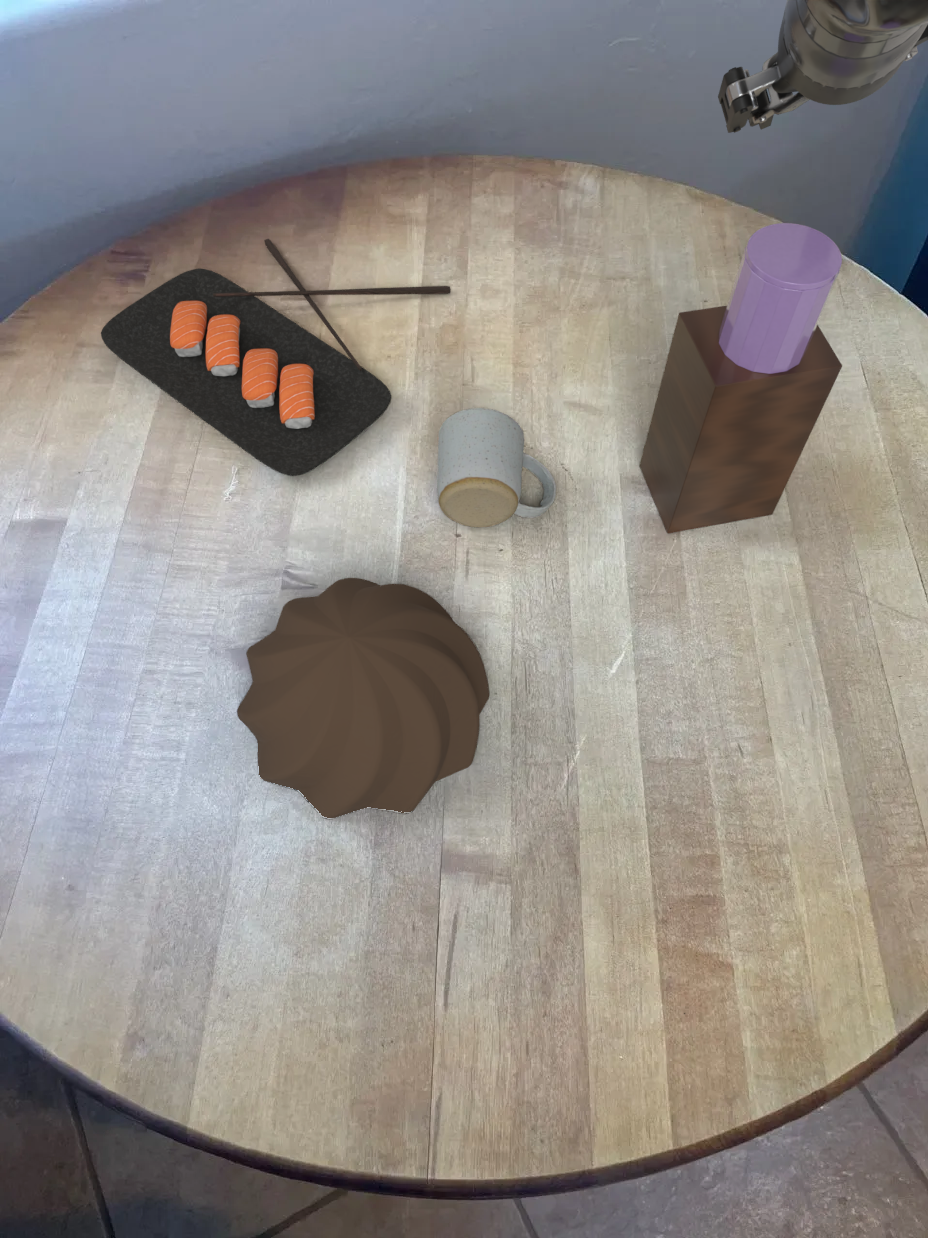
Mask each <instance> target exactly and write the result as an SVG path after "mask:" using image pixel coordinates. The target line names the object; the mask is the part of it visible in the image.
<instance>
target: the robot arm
mask: <svg viewBox="0 0 928 1238" xmlns="http://www.w3.org/2000/svg"><path fill="white" fill-rule="evenodd" d="M777 40H778V42H777V52H775V53H774V54H773V55H771V57H769V58H767V59H766V60H765V61H764V62H763V64H762V68H761V71H759V72H756V73H754V74H752V75H751V74H750V71H749V69H744V68H743V66H738V67H736V66H735V67H732V68H730V69H728V70H727V72H726V73H724V74H723V77H722V79H721V84H720V86H719V87H720V88H719V92H718V95H717V99H718V103H719V105H720V106H721V110H722V114H723V117H724V121H725V124H726V125H725V127H726V130H727V133H728V134H732V133H733V134H735V133H738V132H740V131H741V130H742V129H743V128H744V127H746V124H747V123H748V124H749V127H755V126H757V125H758V126H759V129H760V130H764V129H766V128H769V127H771V126H772V123H773V119H774V116H775V115H777V116H780V115H782V114H786V113H789V112H793V111H796V110H797V109H798V108H800V107H801V106H803V105H804V104H806V103H807V102H809V101H812V102H815V103H818V104H823V105H827V106H841V105H848V104H852V103H855V102H858V101H862V100H863V99H865V98H868V97H869V96H871V95H873V94H875V93H876V92H878V91H879V90H880V89H881V88H883V87H884V86H885V85H886V84H887V83H888V82H889V81H890V80H891V79H892V78H893V77H894V75H895V74H896V73H897V72H898V70H899V69H900V67H901V66H902V64H903V63H904V62H908V61H910V60H912V59H913V58H914V56H916V55H917V54H918V53H919V51H918V46H919V45H921V44H923V43H925V42H928V0H786V4H785V8H784V11H783V15H782V19H781V24H780V28H779V34H778V39H777ZM794 93H795V94H794Z"/></svg>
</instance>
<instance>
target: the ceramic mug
mask: <svg viewBox="0 0 928 1238" xmlns="http://www.w3.org/2000/svg"><path fill="white" fill-rule="evenodd" d="M437 439H438V440H437V441H438V442H437V476H436V496H437V502H438V506H439V508H440V510H441V511H442V513H443V515H444V516H446V517H447V518H448V519H450V520H451V521H452V522H455V523H457V524H460V525H462V526H465V527H470V528H489V527H493V526H497V525H500V524H502V523H504V522H506V521H508V520H509V519H511V517H512V516H513V515H515V516H518V517H521V518H529V519H531V518H533V519H534V518H539V517H541V516H542V515H543V514H545V513H546V512H547V511H548V509H550V507H551V506H552V505H553V504H554V501H555V500H556V495H557V483H556V481H555V478H554V476H553V474H552V473H551V472H550V470H549V469H548V468H547V467H546V466H545V464H544V463H542V462H541V461H539V460H538V459H537V458H535V457H533V456H532V455H530V454H529V453H525V451H524V450H525V433H524V430H523V428H522V427H521V425H520V423H519V422H518V421H517V420H516V419H514V418H513V417H511V416H510V415H509V414H507V413H505V412H502V411H500V410H497V409H494V408H485V407H471V408H466V409H462V410H459V411H456V412H455V413H453V414H451V415H449V416H448V417H447V418H446V419H445V420H444V421H443V422H442V423H441V425H440V428H439V429H438V438H437ZM523 468H524V469H526V470H527V471H529V472H530V473H531V474H533V475H534V476H535V477H536V478H537V479H538V480H539V482H540V483H541V485H542V488H543V493H542V494H543V495H542V500H541V501H540V503H539V504H540V506H531V505H526V504H524V503H523V504H522V503H521V502H520V499H521V496H522V495H521V494H522V479H523V478H522V477H523V476H522V475H523Z"/></svg>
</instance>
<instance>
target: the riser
mask: <svg viewBox="0 0 928 1238" xmlns="http://www.w3.org/2000/svg"><path fill="white" fill-rule="evenodd" d="M727 305H728V304H726V305H721V306H714V307H713V306H712V307H708V308H700V309H693V310H687V311H681V312H679V313H678V316H677V319H676V324H675V327H674V330H673V335H672V338H671V342H670V346H669V349H668V350H669V351H668V354H667V357H666V361H665V365H664V369H663V374H662V376H661V380H660V385H659V387H658V388H659V389H658V392H657V396H656V400H655V404H654V408H653V412H652V415H651V420H650V423H649V427H648V431H647V435H646V438H645V442H644V446H643V450H642V454H641V458H640V462H639V465H638V466H639V470H640V471H641V473H642V476H643V478H644V481H645V483H646V486H647V488H648V490H649V493H650V495H651V499H652V500H653V503H654V505H655V507H656V510H657V512H658V514H659V517H660V519H661V521H662V525H663V526H664V529H665V531H666V533H667V534H674V533H680V532H684V531H685V532H686V531H690V530H697V529H701V528H707V527H712V526H717V525H723V524H729V523H734V522H735V523H736V522H739V521H746V520H750V519H757V518H763V517H767V516H772V515H773V514H774V512H775V511H776V508H777V506H778V505H779V502H780V499H781V498H782V496H783V493H784V491H785V488H786V487H787V485H788V483H789V480H790V478H791V476H792V475H793V473H794V470H795V468H796V466H797V464H798V461H799V459H800V457H801V455H802V452H803V451H804V449H805V446H806V444H807V442H808V440H809V438H810V436H811V433H812V432H813V430H814V427H815V425H816V423H817V421H818V419H819V416H820V415H821V413H822V410H823V408H824V407H825V404H826V402H827V400H828V397H829V395H830V394H831V391H832V389H833V387H834V385H835V383H836V381H837V379H838V377H839V374H840V373H841V370H842V368H843V364H842V362H841V361H840V359H839V358H838V356H837V354H836V352H835V351H834V349H833V348H832V346H831V344H830V342H829V341H828V339H827V337H826V336H825V334H824V333H823V330H822V329H821V328H820V325H819V323H818V324H817V327H816V329H815V331H814V334H813V336H812V339H811V341H810V343H809V346H808V348H807V350H806V353H805V355H804V356H803V358H802V360H801V361H800V363H799V364H798V365H796V366H795V367H793V368H791V369H790V370H788V371H785V372H779V373H773V374H767V373H759V372H753V371H750V370H748V369H745V368H743V367H740V366H738V365H736V364H735V363H734V362H733V361H731V360H730V359H729V358H728V357H727V356H726V355H725V354H724V352H723V350H722V348H721V346H720V345H719V331H720V327H721V324H722V321H723V318H724V315H725V311H726V308H727Z"/></svg>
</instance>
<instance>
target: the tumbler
mask: <svg viewBox="0 0 928 1238" xmlns="http://www.w3.org/2000/svg"><path fill="white" fill-rule="evenodd" d="M842 264H843V257H842V253H841V250H840V247H839V246H838V245H837V244H836V242H835V241H834V240H833V239H831V237H829V236H828V235H826V234H825V233H824V232H822V231H820V230H818V229H815V228H813V227H810V226H807V225H804V224H798V223H791V222H779V223H773V224H768V225H766V226H763V227H761V228H759V229H757V230H755V232H754V233H752V235H751V236H750V237H749V239H748V241H747V243H746V246H745V247H744V250H743V253H742V257H741V260H740V263H739V267H738V270H737V273H736V277H735V279H734V283H733V286H732V289H731V293H730V295H729V298H728V302H727V304H726V305H727V308H726V311H725V315H724V318H723V321H722V324H721V327H720V331H719V345H720V346H721V348H722V350H723V352H724V354H725V355H726V356H727V357H728V358H729V359H730V360H731V361H733V362H734V363H735V364H736V365H738V366H740V367H743V368H745V369H748V370H750V371H753V372H759V373H767V374H773V373H779V372H785V371H788V370H790V369H791V368H793V367H795V366H796V365H798V364H799V363H800V361H801V360H802V358H803V356H804V355H805V353H806V350H807V348H808V346H809V343H810V341H811V339H812V336H813V334H814V331H815V329H816V327H817V324H818V325H819V322H820V319H821V317H822V315H823V312H824V310H825V307H826V305H827V303H828V300H829V298H830V296H831V293H832V291H833V288H834V286H835V284H836V281H837V279H838V277H839V274H840V271H841V268H842Z"/></svg>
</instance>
